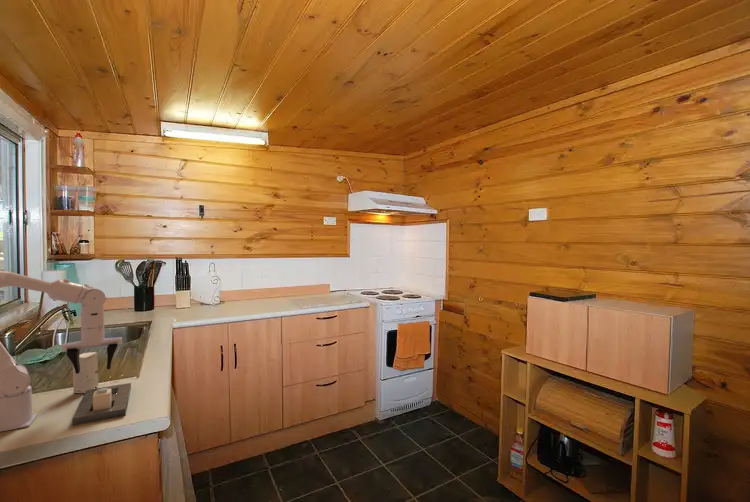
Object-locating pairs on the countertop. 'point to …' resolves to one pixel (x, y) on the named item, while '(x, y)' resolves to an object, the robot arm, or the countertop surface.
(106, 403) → the plug
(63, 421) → the countertop surface
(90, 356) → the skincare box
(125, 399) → the panel
